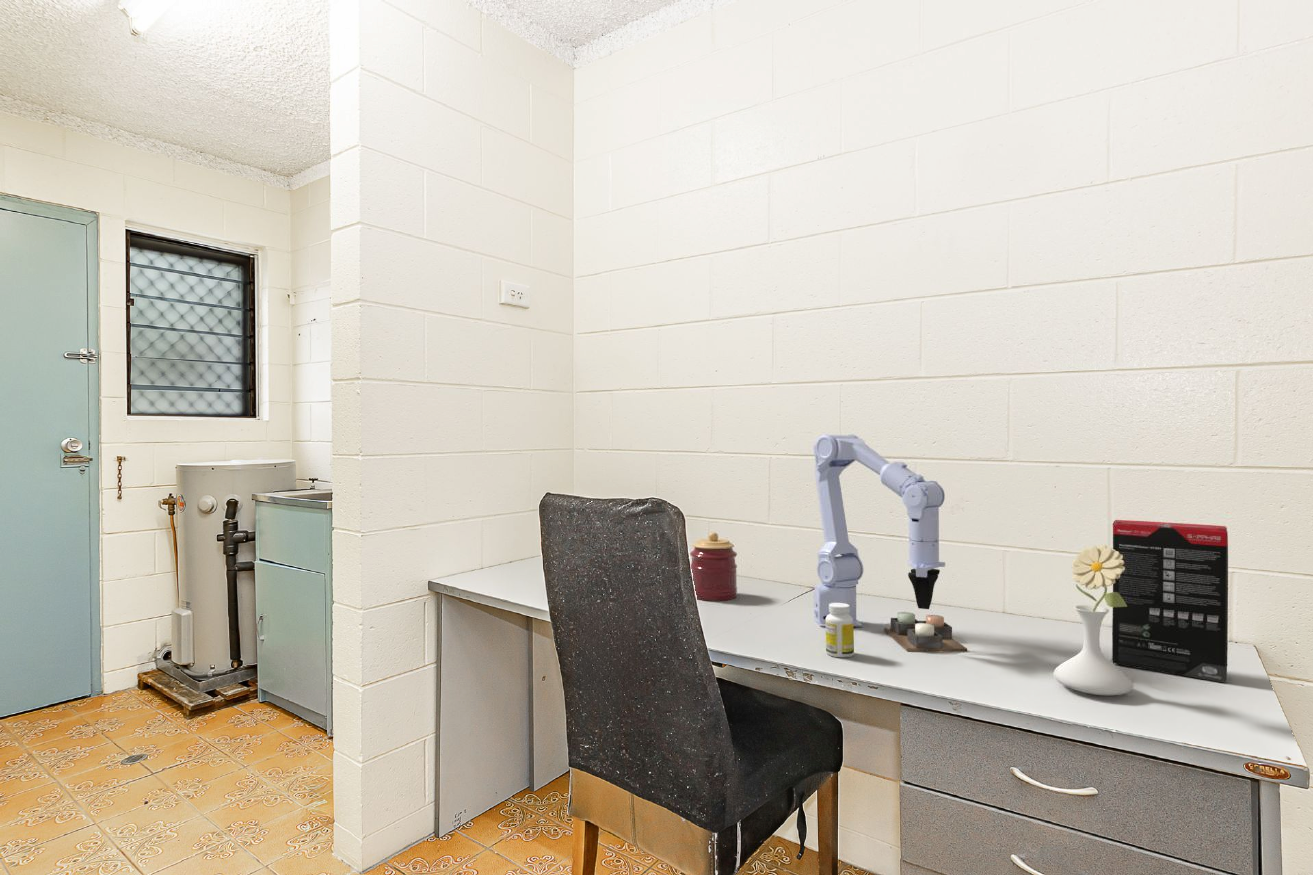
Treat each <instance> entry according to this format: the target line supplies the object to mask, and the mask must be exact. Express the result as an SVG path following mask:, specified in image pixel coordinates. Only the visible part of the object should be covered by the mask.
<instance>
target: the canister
mask: <svg viewBox="0 0 1313 875" xmlns="http://www.w3.org/2000/svg"><path fill="white" fill-rule="evenodd" d="M692 547H694V549H693V550H692V551H690V553H689V555H690V556H691V564H690V565H691V567H690V570H691V569H692V573H693V581H694V585H695V591H696V595H697V600H702V601H712V602H713V601H715V602H716V601H719V602H720V601H729V600H733V599H735V598H736V597H737V593H738V586H737V567H738V564H736V557H737V556H738V553H737V552H736V551H735V550H734V549H733V548H734V547H735V545H734V544H733V543H731V542H730V541H729V540H727V539H723V538H719V535H718V533H716V532H714V531H713V532H710V533H709V535H708V538H702V539H698V541H696V542H695V543H693V544H692Z"/></svg>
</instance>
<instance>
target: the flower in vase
mask: <svg viewBox="0 0 1313 875" xmlns="http://www.w3.org/2000/svg"><path fill="white" fill-rule="evenodd" d="M1075 557H1076V559H1074V560H1073V561H1072V565H1071V569H1072V574H1074V575H1073V577H1072V578H1073V580H1074V581H1075V582H1076V583H1079V585H1080V586H1085V588H1086V589H1088V590H1098V589H1099V588H1100V587H1102V588H1104V590H1103V594H1102V596H1101V597H1100V598H1099V600H1097V599H1096V598H1095V597H1094V596H1093V595H1092V594H1090V593H1088V592H1087V591H1084V590H1083V589H1082V588H1081V587H1079V586H1078V584H1075V585H1076V589H1077V590H1078V591H1079V592H1080V593H1081V594H1083V595H1085V596H1087V597H1088V598H1090V599H1092V600H1093V601H1095V602H1096V603H1095V605H1092V604H1090V605H1089V604H1076V605H1074V606H1073V608H1074V609H1075V610H1076V612H1077V613H1078V615H1079V617H1080V620H1081V623H1082V629H1083V646H1082V649H1081V651H1080V652H1079V653H1077V654H1076V655H1074V656H1072V657H1071V658H1069V659H1067V660H1066V661H1064V662H1062V663H1061V664H1059V665H1058V666H1057V667H1056V668H1055V669H1054V671H1053V677H1054V678H1055V680H1056V681H1057V682H1058V683H1059V684H1061V685H1063V686H1065V687H1067V688H1069V689H1072V690H1074V691H1077V692H1081V693H1085V694H1091V695H1094V696H1095V695H1097V696H1108V697H1110V696H1119V695H1125V694H1129V692H1130V691H1132V689H1133V688H1134V685H1133V683H1132V680H1131V679H1130V678H1129V676H1128V675H1126V674H1125V672H1124V671H1122V670H1121V669H1120V668H1119V667H1117V666H1116V664H1115V663H1113V662H1111V660H1109V659H1108V658H1107V657H1106V656H1105V655H1104V654H1103V652H1102V650H1101V646H1100V645H1101V642H1100V636H1101V635H1100V634H1101V626H1102V623H1103V620H1104V618H1105V616H1106V615H1107V614H1108V613H1109V611H1110V609H1108V608H1106V607H1103V606H1099V605H1100V603H1101V602H1103V600H1104V601H1105V603H1106V605H1107V606H1108V607H1110V608H1113V607H1127V605H1126V603H1125V602H1124V600H1123V599H1122V597H1121V596H1120V594H1119V593H1117V592H1113V591H1112V592H1108V593H1107V591H1108V587H1110V586H1113V584H1114V583H1115V579H1119V578H1120V574H1122V572H1123V571H1124V570H1125V567H1124V566H1122V565H1123V564H1124V561H1123V560H1122V558H1123V555H1121V554H1119V552H1118V551H1116V550H1113V547H1111V546H1107V545H1106V544H1102V545H1099V546H1097V545H1095V544H1094V545H1091V546H1090V548H1083V549H1082V552H1080V553H1077V554H1076V556H1075Z"/></svg>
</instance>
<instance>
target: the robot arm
mask: <svg viewBox="0 0 1313 875" xmlns="http://www.w3.org/2000/svg"><path fill="white" fill-rule="evenodd" d="M812 448H813V453H814V462H815V463H814V475H815V476H814V477H815V482H816V483H815V484H816V491H817V497H818V502H819V504H818V505H819V509H820V511H819V512H820V517H821V524H822V532H823V538H824V545H823V546H822V548H821V549H820V550H819V551H818V552H817V558H818V559H817V560H818V561H817V565H816V572H817V576H818V578H819V580H820V581H821V584H815V586H814V592H813V594H814V595H813V602H814V603H813V605H814V606H813V609H814V610H813V612H814V615H813V619H814V620H815V622H816V623H817V624H818V625H819V626H820V627H826V617H827V615H829V614H830V612H829V604H831V603H845V604H848V605H849V606H850V611H849V613H848V615H850V616H851V617H852V618H853V627H863V624H862V623H861V622H860V621H859V620H858V619H857V585H859V580H860V579H862V577H863V576H864V575H863V574H864V565H863V562H862V560H861V558H860V555H859V551H858V548H856V546H855V545H853V544H852V542H850V540H849V532H848V527H847V521H846V513H845V507H844V501H843V500H844V499H843V495H842V488H841V482H840V475H841V474H842V473H843V471H844V470H845V469H847V468H848V467H849V466H851V465H852V464H853V463H855V461H857V462H858V463H860V464H861V465H863V466H865V468H867V469H868V470H869V469H870V470H871V471H872V472H874V473H875V474H878V475H879V476H880V482H881V484H883V485H884V486H885V487H887V488H888V489H890V490H891V491H892V492H894V493H895V494H896V495H898V496H899V497H900V498H902V501H903V504H904V506H905V507H906V511H907V512H906V514H907V516H908V544H909V546H908V547H909V548H908V552H909V553H908V554H909V555H908V563H907V564H908V565H909V566H910V567H911V569H910V571H909V572H908V573H907V576H908V579H909V580H910V583H911V585H912V587H913V591H914V596H915V601H916V602H915V603H916V606H917V608H918V609H919V610H920V609H921V610H930V607H931V603H932V601H933V595H934V588H935V584H936V583H937V581H938V578H939V574H940V572H941V570H940V569H939V568H940V567H941V568H945V567H946V562H945V561H940V526H939V524H940V520H939V517H940V516H939V515H940V513H939V512H940V511H939V510H940V507H942V505H943V504H944V501H945V498H946V497H945V490H944V488H943V487H942V486H941V485H940V484H939V483H938V481H937V480H936V481H935V480H925V479H924V476H923V475H921V474H917V473H915V472H914V471H913V470H910V469H909V468H908V465H907V464H906V463H905V462H903V461H902V462H901V461H900V462H899V461H898V462H897V461H893V462H889V461H888V460H886V459H885V458H884V457H883V456H882V455H881V454H879V453H878V452H877V451H875V450H874V449H873V448H871V447H870V446H869V445H868V444H866V442H865V440H864V439H862V438H859V436H857V435H855V434H828V433H825V434H822V435H820V437H818V439H817V440H816V442H815V444H813V447H812ZM838 555H839V556H838Z"/></svg>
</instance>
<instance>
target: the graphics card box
mask: <svg viewBox="0 0 1313 875" xmlns="http://www.w3.org/2000/svg"><path fill="white" fill-rule="evenodd" d="M1227 529H1228V528H1227V526H1226V525H1215V524H1199V523H1198V524H1197V523H1184V522H1181V523H1179V522H1168V521H1167V522H1166V521H1163V522H1161V521H1147V520H1145V521H1144V520H1127V519H1126V520H1124V519H1115V520H1113V523H1112V550H1116V551H1118V552H1119V554H1121V555H1123V558H1122V560H1123V561H1124V564H1123V565H1122V566H1124V567H1125V570H1124V571H1123V572H1122V574H1120V578H1119V579H1115V583H1114V584H1112V592H1117V593H1119V594H1120V596H1121V597H1122V599H1123V600H1124V602H1125V603H1126V605H1127V607H1112V620H1111V621H1112V622H1111V625H1112V626H1111V627H1112V629H1111V636H1112V637H1111V638H1112V640H1111V644H1112V645H1111V646H1112V648H1111V651H1112V652H1111V654H1112V657H1111V658H1112V659H1111V660H1112V664H1114V665H1121V666H1128V667H1133V668H1139V669H1143V670H1151V671H1155V672H1163V673H1167V674H1173V675H1178V676H1185V677H1189V678H1195V679H1200V680H1207V681H1211V682H1212V681H1213V682H1218V683H1227V680H1228V677H1227V676H1228V651H1229V650H1228V645H1229V644H1228V635H1229V634H1228V633H1229V631H1228V630H1229V629H1228V628H1229V535H1228V530H1227Z"/></svg>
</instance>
